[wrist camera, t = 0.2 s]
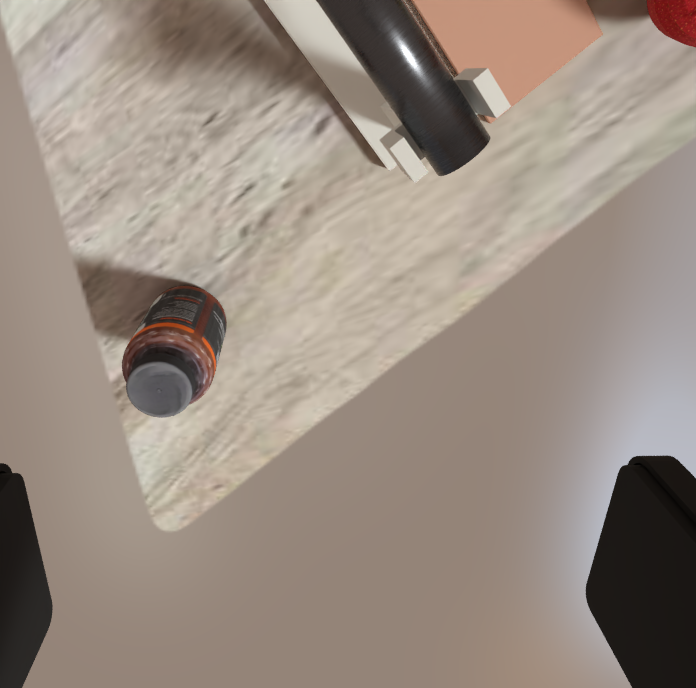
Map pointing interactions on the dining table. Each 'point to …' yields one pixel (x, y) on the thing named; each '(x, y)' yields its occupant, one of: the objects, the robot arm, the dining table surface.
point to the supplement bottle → (174, 351)
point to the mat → (510, 37)
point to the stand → (372, 85)
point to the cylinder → (410, 79)
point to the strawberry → (675, 19)
